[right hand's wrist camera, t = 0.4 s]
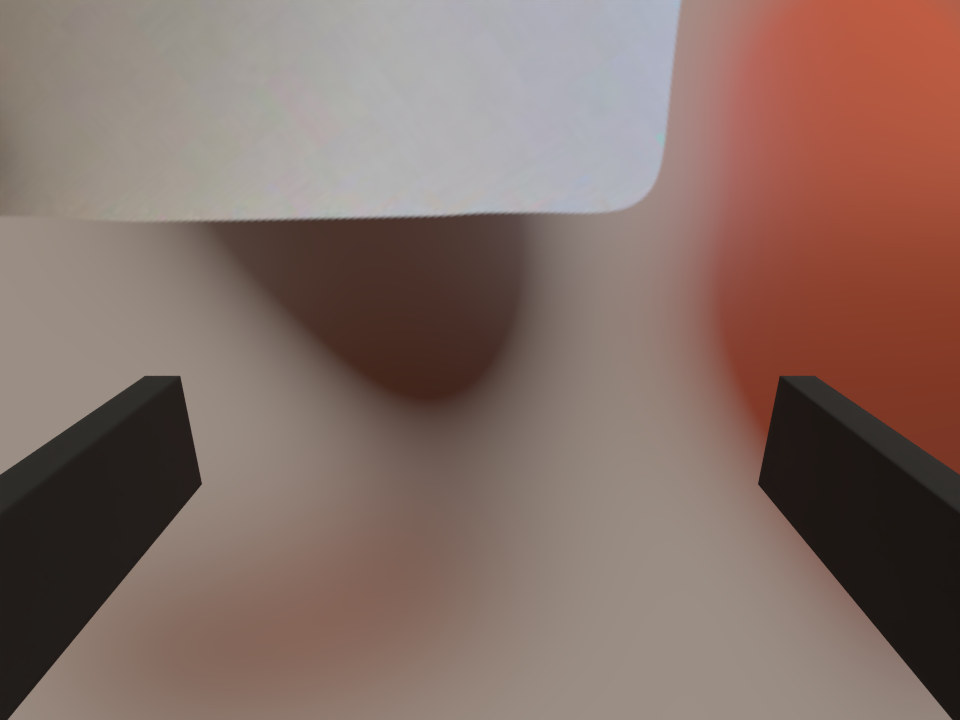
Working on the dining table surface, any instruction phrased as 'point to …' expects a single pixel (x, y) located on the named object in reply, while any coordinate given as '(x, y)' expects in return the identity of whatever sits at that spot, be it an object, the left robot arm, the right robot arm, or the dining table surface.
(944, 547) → the right robot arm
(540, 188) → the dining table surface
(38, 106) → the dining table surface
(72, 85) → the dining table surface
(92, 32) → the dining table surface
